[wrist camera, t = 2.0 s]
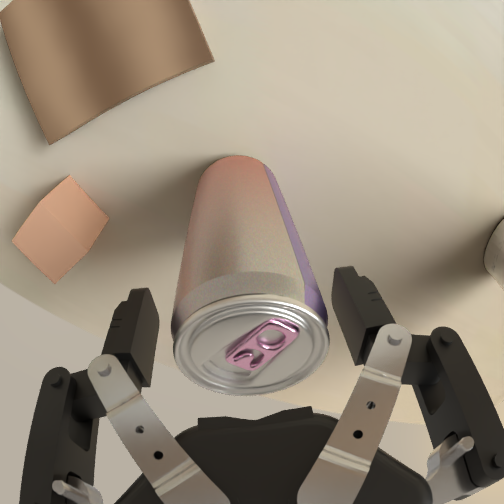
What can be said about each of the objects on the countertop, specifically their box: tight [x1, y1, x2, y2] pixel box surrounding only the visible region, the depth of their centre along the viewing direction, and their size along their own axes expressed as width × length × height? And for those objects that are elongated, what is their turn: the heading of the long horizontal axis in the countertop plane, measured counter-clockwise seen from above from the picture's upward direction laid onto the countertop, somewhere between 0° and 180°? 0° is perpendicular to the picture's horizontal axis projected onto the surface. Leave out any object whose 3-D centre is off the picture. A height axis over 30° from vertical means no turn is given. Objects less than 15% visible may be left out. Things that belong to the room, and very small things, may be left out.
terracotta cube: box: [12, 175, 109, 284], centre depth 21 cm, size 5×5×5 cm
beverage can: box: [171, 155, 330, 396], centre depth 17 cm, size 6×6×15 cm
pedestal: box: [0, 0, 214, 145], centre depth 14 cm, size 12×12×3 cm
